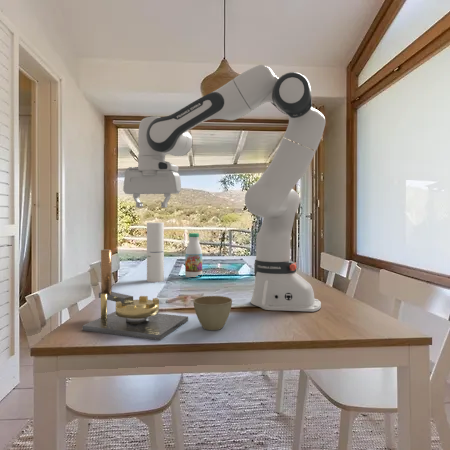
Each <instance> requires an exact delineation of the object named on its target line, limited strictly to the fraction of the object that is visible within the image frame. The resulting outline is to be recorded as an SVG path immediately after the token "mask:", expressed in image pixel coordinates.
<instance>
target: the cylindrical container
mask: <svg viewBox="0 0 450 450" xmlns="http://www.w3.org/2000/svg"><path fill="white" fill-rule="evenodd" d="M164 228H165V223H164V222H158V221H157V222H154V221H152V222H146V282H148V283H161V282H164V281H165V268H164V267H165V266H164V265H165V262H164V261H165V256H164V255H165V250H164V249H165V235H164V234H165V231H164V230H165V229H164Z"/></svg>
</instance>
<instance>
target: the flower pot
mask: <svg viewBox="0 0 450 450" xmlns="http://www.w3.org/2000/svg"><path fill="white" fill-rule="evenodd" d="M192 302H193V308H194V312H195V314H196V317H197V319H198V321H199V323H200V325H201V326H202V328H203V329H204V330H207V331H218V330H221V329H223V328H224V326H225V324H226V323H227V320H228V318H229V316H230V313H231V311H232V309H231V308H232V305H233V299H232V298H231V297H228V296H221V295H207V296H199V297H196V298H194V299H193V301H192Z"/></svg>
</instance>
